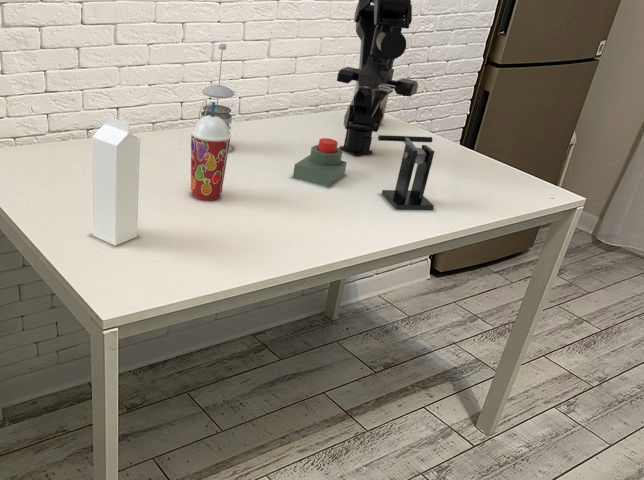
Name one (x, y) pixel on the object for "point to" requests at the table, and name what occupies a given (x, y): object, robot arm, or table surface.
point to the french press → (217, 92)
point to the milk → (115, 182)
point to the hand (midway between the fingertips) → (370, 117)
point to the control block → (320, 167)
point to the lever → (409, 140)
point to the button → (327, 145)
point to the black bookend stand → (414, 197)
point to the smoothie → (209, 156)
